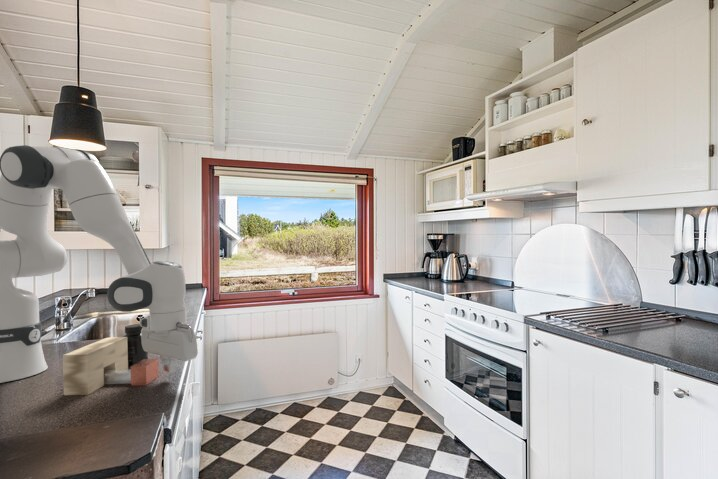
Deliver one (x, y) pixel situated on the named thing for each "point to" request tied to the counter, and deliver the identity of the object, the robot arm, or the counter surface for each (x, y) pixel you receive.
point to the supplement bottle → (134, 344)
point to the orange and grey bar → (134, 374)
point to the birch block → (93, 364)
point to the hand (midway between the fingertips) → (169, 371)
